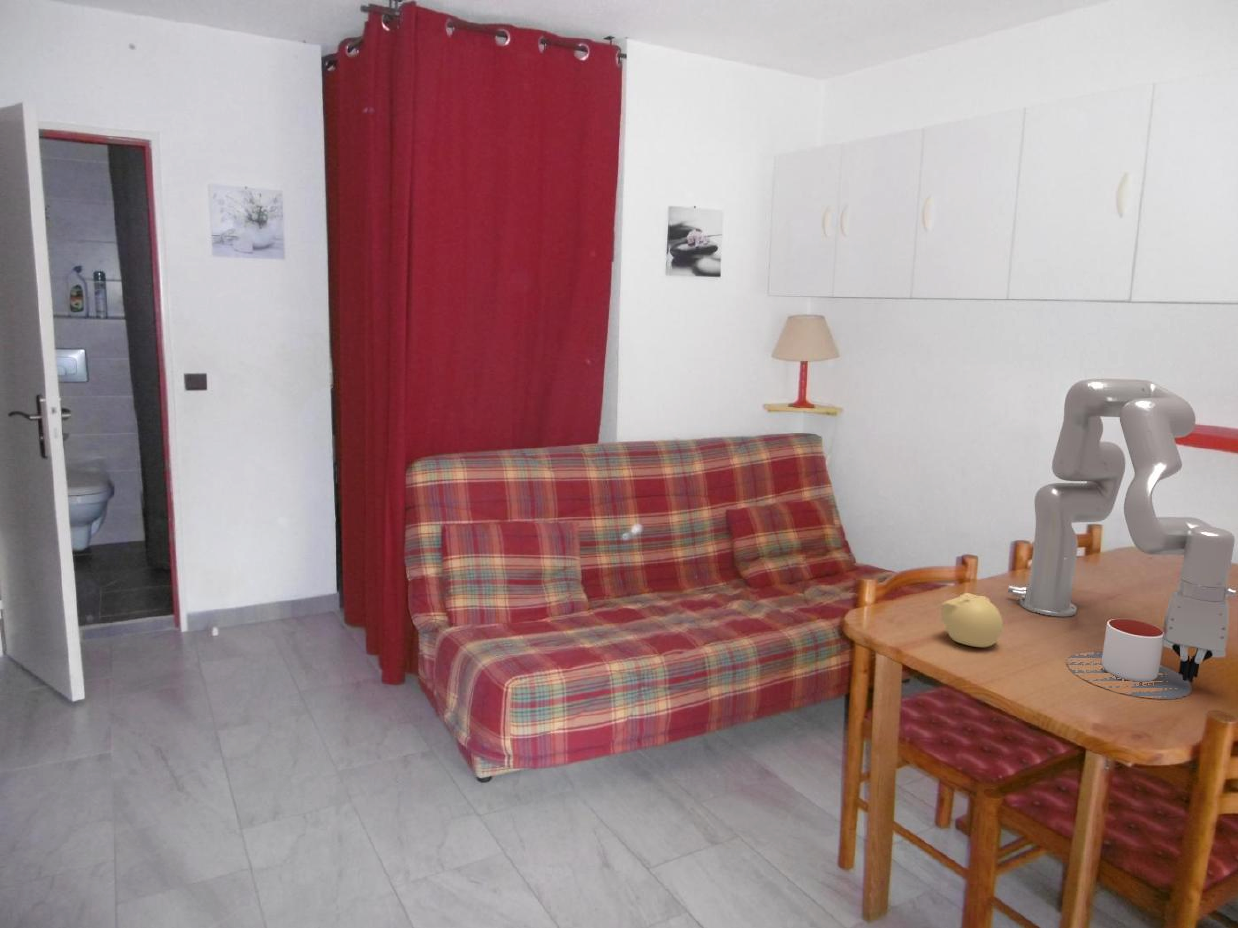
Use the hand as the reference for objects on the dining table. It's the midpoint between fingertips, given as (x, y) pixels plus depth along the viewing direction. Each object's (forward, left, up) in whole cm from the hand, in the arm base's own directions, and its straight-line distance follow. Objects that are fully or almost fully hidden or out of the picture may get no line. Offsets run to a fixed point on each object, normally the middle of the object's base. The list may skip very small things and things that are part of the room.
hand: (1187, 678), depth 167 cm
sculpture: (-40, 0, -2) cm, 40 cm away
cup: (-10, 0, -2) cm, 10 cm away
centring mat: (-10, 0, -2) cm, 10 cm away
